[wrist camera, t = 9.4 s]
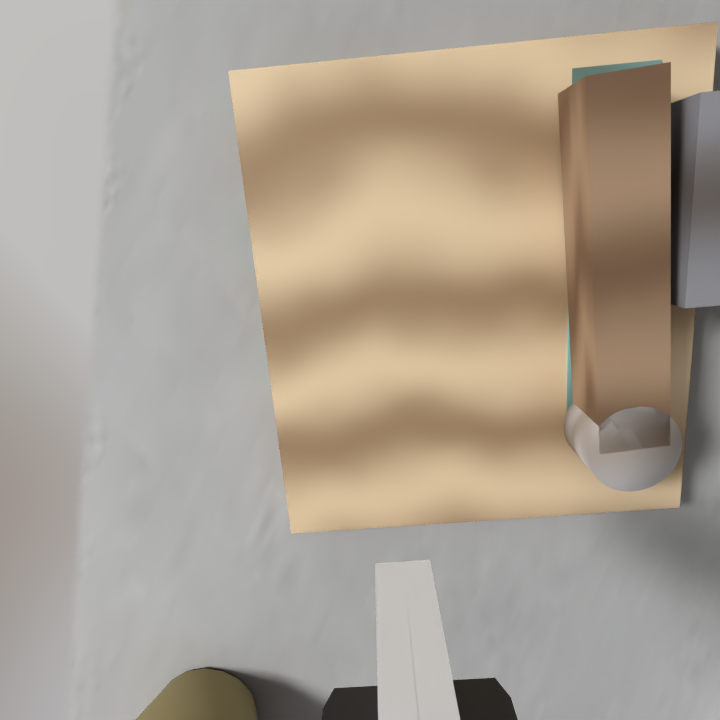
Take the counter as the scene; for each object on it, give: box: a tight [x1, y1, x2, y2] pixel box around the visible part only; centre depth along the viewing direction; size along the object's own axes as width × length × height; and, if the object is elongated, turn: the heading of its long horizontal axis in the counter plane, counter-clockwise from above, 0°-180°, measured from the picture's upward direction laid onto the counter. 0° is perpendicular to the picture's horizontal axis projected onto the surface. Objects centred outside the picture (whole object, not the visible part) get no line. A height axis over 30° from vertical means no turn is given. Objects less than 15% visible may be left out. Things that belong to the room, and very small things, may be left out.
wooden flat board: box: [228, 22, 720, 533], centre depth 24 cm, size 22×20×5 cm
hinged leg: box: [558, 62, 682, 492], centre depth 23 cm, size 17×4×3 cm, turn 9°
